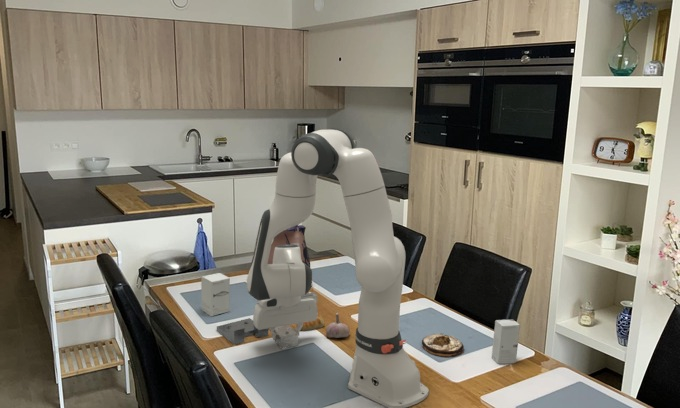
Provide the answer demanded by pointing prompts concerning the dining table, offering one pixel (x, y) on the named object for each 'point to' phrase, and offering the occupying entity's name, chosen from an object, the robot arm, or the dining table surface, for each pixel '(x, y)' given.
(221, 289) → the supplement box
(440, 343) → the brown flat two-tone disc
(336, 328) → the garlic bulb
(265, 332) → the gunmetal leaf
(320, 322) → the pastry
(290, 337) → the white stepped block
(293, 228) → the ceramic pitcher
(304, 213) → the robot arm
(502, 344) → the skincare box
